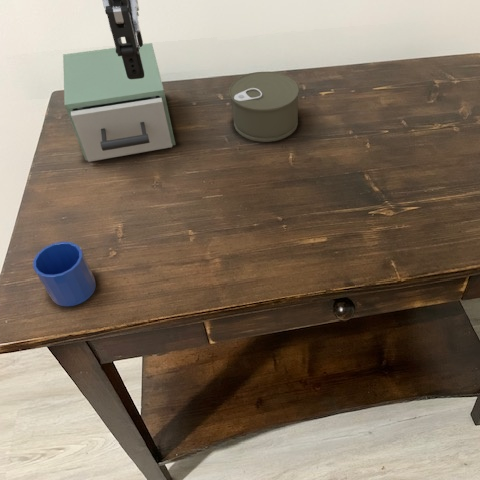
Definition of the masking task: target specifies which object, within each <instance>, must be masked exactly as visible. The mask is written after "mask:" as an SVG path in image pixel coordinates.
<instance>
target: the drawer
mask: <svg viewBox="0 0 480 480" xmlns="http://www.w3.org/2000/svg"><path fill="white" fill-rule="evenodd" d="M77 109H78V111H71V117H72V120H73V122H74V125H75V128H76V130H77V133H78V136H79V138H80V141H81V144H82V146H83V149H84V152H85V154H86V157H87V162H89V163H90V162H96V161H102V160H108V159H113V158H118V157H119V158H120V157H123V156H124V157H125V156H129V155H136V154H140V153H147V152H152V151H158V150H164V149H168V148H173V146H174V145H172V142H171V137H170V133H169V128H168V124H167V119H166V115H165V110H164V106H163V101H162V98H156V96H154V97H147V98H141V99H134V100H127V101H121V102H114V103H108V104H101V105H95V106H88V107H82V108H77Z"/></svg>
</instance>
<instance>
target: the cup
mask: <svg viewBox="0 0 480 480" xmlns="http://www.w3.org/2000/svg"><path fill="white" fill-rule="evenodd" d="M32 261H33V262H32V268H33V270H34V271H35V274H36V275H37V277H38V279H39V280H40V282H41V283H42V285H43V288H44V289H45V290H46V293H47V294H48V295H49V297H50V298H51V300H52V302H53V303H54V304H56V305H58V306H61V307H74V306H77V305H80V304H82V303H84V302H86V301H87V300H88V299H90V298H91V297H92V295H93V294H94V293H95V290H96V287H97V282H96V279H95V276H94V274H93V272H92V270H91V267H90V265H89V263H88V261H87V259H86V257H85V254H84V252H83V250H82V248H81V247H80V246H79V245H78V244H76V243H74V242H71V241H59V242H54V243H51V244H49V245H47V246H45V247H44V248H42V249H41V250H40V251H39V252H37V253H36V255H35V257H34V258H33V260H32Z"/></svg>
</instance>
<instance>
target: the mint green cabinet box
mask: <svg viewBox="0 0 480 480" xmlns="http://www.w3.org/2000/svg"><path fill="white" fill-rule="evenodd" d="M139 51H140V56H141V61H142V65H143V69H144V78H141V79H129V78H128V77H127V74H126V70H125V67H124V63H123V59H122V56H118V54H117V53H116V47H110V48H103V49H97V50H95V49H94V50H87V51H79V52H72V53H65V54H62V63H63V66H62V67H63V97H64V98H63V99H64V100H63V101H64V107H65V110H66V112H67V115H68V118H69V121H70V123H71V126H72V128H73V131H74V133H75V137H76V139H77V141H78V144H79V147H80V149H81V152H82V154H83V158H84V160H85V161H86V162H88V160H87V157H86V154H85V152H84V149H83V146H82V144H81V141H80V138H79V136H78V133H77V130H76V128H75V125H74V122H73V120H72V117H71V111H78V109H77V108H82V107H88V106H95V105H101V104H108V103H114V102H121V101H127V100H134V99H141V98H147V97H154V96H156V98H162V101H163V106H164V110H165V115H166V119H167V124H168V128H169V133H170V137H171V142H172V146H176V139H175V135H174V129H173V127H172V122H171V117H170V111H169V107H168V103H167V98H166V94H165V88H164V85H163V81H162V77H161V74H160V69H159V65H158V62H157V58H156V53H155V50H154V46H153V43H152V42H149V43H143V46H142V47H140V49H139Z"/></svg>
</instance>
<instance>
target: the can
mask: <svg viewBox="0 0 480 480" xmlns="http://www.w3.org/2000/svg"><path fill="white" fill-rule="evenodd" d="M228 94H229V98H230V101H231V111H232V117H233V127H234V129H235V131H236V132H237V133H238V134H239V135H240V136H241V137H243V138H244V139H247V140H250V141H253V142H259V143H271V142H277V141H280V140H283V139H285V138H287V137H289V136H291V135H292V134H293V133H295V131H296V130H297V127H298V125H299V119H298V118H299V109H298V108H299V94H300V89H299V85H298V83H297V82H296V81H295V80H294V79H293V78H292V77H290V76H288V75H286V74H283V73H279V72H275V71H255V72H250V73H246V74H243V75H241V76H240V77H238V78H236V79H235V80H234V81H233V82H232V83H231V84H230V86H229V90H228Z"/></svg>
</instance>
